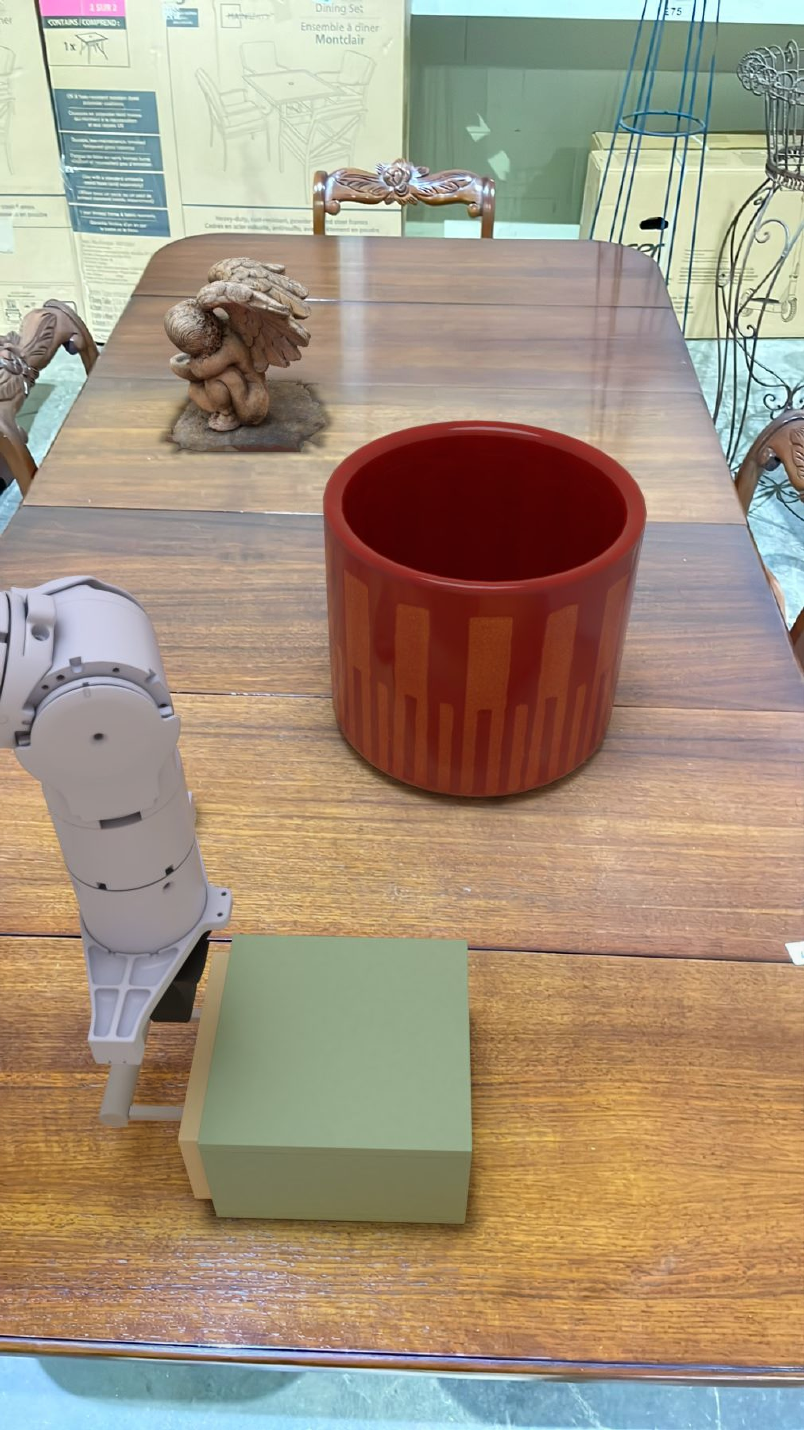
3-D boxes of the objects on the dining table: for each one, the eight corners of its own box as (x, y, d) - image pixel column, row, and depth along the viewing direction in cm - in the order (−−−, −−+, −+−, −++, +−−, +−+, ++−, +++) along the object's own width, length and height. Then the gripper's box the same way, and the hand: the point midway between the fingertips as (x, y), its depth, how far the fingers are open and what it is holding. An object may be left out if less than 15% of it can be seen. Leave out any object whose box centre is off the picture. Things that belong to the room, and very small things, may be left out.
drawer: (103, 1196, 59) (78, 1137, 54) (145, 1013, 67) (127, 949, 63) (423, 1205, 59) (425, 1146, 54) (425, 1020, 67) (427, 956, 63)
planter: (647, 790, 83) (696, 573, 69) (349, 824, 80) (340, 604, 67) (567, 611, 100) (595, 408, 86) (319, 634, 97) (307, 428, 83)
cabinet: (216, 1217, 59) (196, 1143, 53) (246, 1015, 68) (232, 933, 63) (464, 1224, 59) (472, 1151, 53) (461, 1020, 68) (467, 939, 62)
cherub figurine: (189, 380, 135) (168, 231, 123) (332, 383, 134) (326, 234, 122) (160, 450, 122) (134, 292, 110) (319, 453, 121) (311, 295, 109)
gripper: (192, 983, 42) (228, 1146, 51) (242, 729, 53) (265, 902, 62) (12, 979, 42) (81, 1142, 51) (99, 726, 53) (142, 899, 62)
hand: (172, 1011), depth 57 cm, fingers closed
